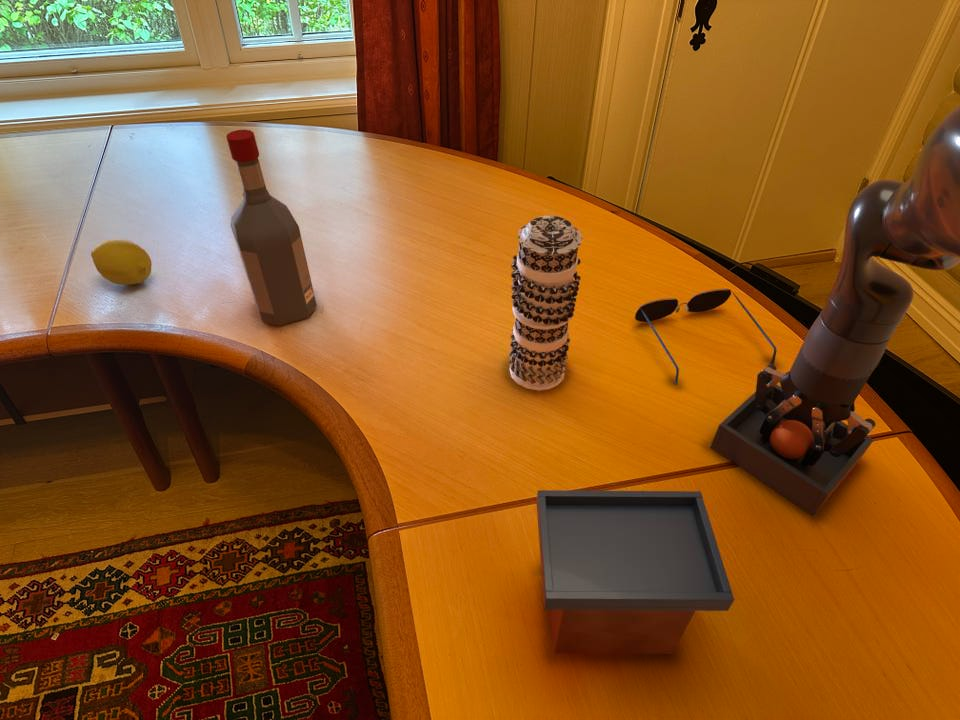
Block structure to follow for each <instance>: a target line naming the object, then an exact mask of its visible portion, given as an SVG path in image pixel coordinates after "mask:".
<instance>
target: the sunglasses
mask: <svg viewBox="0 0 960 720" xmlns="http://www.w3.org/2000/svg"><path fill="white" fill-rule="evenodd" d="M732 294H733V296H734V297H735V299H736V300H737V302H738V303H739V304H740V306H741V307H742V308H743V310H744V311H745V312H746V314H747V315H748V317H749V318H750V319H751V321H752V322H753V323H754V324H755V326H756V327H757V328H758V330H759V331H760V332H761V334H762V335H763V337H765V340H766V341H767V342H768V343H769V344H770V346H771V347H772V348H773V354H772V357H771V360H770V364H773V365H775V360H776V356H777V351H778V350H777V346H776V345H775V343H774V342H773V341H772V340H771V338H770V337H769V336H768V335H767V333H766V332H765V330H763V328H762V326H761V325H760V324H759V322H758V321H757V320H756V318H754V316H753V315H752V313H750V311H749V310H748V308H747V307H746V306H745V305H744V303H743V302H742V301H741V300H740V298H739V297H738V296H737V295H736V294H735V292H733V291H732V289H729V288H717V289H710V290H706V291H702V292H699V293H697V294H695V295H693V296H692V297H691V298H690V299H689V301H688V302H682V303H680V304H679V302H680V301H679V300H678V299H677V298H674V297H669V298H668V297H667V298H660V299H655V300H651V301H649V302H646V303H643V304H642V305H639V307H638V309H637V310H636V312H635V316H634V320H635V321H638V322H641V323H648V325H649V326H650V328H651V329H652V331H653V333H654V334H655V336H656V338H657V340H658V341H659V343H660V345H661V346H662V348H663V349H664V351H665V353H666V354H667V356H668V358H669V359H670V361H671V363H672V364H673V366H674V367H675V377H674V384H675V385H678V381H679V380H678V379H679V376H680V375H679V373H680V367H679V366H678V365H677V363H676V361H675V360H674V358H673V356H672V354H671V353H670V351H669V350H668V348H667V346H666V344H665V342H664V341H663V340H662V338H661V336H660V335H659V333H658V331H657V330H656V329H655V327H654V325H653V324H652V322H653V321H659V320H661V319H664V318H666V317H668V316H670V315H672V314H673V313H674V312H675V313H676V314H677V313H679V312H680V310H681V306H682V305H685V310H686V311H687V312H689V313H702V312H708V311H712V310H714V309H717V308H719V307H720V306H722V305H724V304H725V303H726V302H727V301H728V300H729V298H730V297H731V295H732Z"/></svg>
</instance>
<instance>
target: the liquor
mask: <svg viewBox="0 0 960 720" xmlns="http://www.w3.org/2000/svg"><path fill="white" fill-rule="evenodd" d="M226 142H227V145H228V148H229V152H230V155H231V156H230V157H231V159H232V160H233V161H234V162H235V165H236V169H237V172H238V176H239V179H240V183H241V186H242V196H243V199H242V201H241V203H240V204H239V206H237V208H236V210H235V211H234V213H233V215H232V216H231V217H230V228H231V231H232V234H233V238H234V240H235V243H236V247H237V249H238V253H239V257H240V260H241V263H242V266H243V269H244V272H245V276H246V279H247V282H248V285H249V289H250V291H251V295H252V298H253V301H254V305H255V307H256V309H257V311H258V314H259V317H260V319H261V321H262V322H263V323H265V324H267V325H272V326H276V327H281V326H284V325H288V324H291V323H296V322H298V321H302V320H305V319H308V318H309V317H310V316H311V315H312V313H313V312H314V311H315V309H316V307H317V301H316V297H315V292H314V286H313V283H312V277H311V274H310V269H309V265H308V261H307V257H306V252H305V247H304V243H303V239H302V235H301V231H300V226H299V224H298V223H297V220H296V219H295V218H294V215H293V214H292V212H291V211H290V209H289V207H288V206H287V205H286V204H285V203H283V202H282V201H280V200H278V199H277V198H275V197H274V196H272V195H271V194H270V192H269V190H268V189H267V186H266V183H265V178H264V174H263V171H262V168H261V164H260V159H259V157H260V151H259V148H258V144H257V140H256V136H255V132H254V131H252V130H251V129H237V130H233V131H230V132H229V133H227V134H226Z"/></svg>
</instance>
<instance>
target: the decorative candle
mask: <svg viewBox="0 0 960 720" xmlns="http://www.w3.org/2000/svg"><path fill="white" fill-rule="evenodd" d="M517 238H518V252H517V254H515V255H513V257H512V261H513V262H512V263H511V264H510V267H511V269H512V272H511V273H510V277H511V278H512V285H511V290H512V293H511V296H510V297H511V299H512V308H511V309H512V313H513V315H514V323H513V328H512V333H511V334H510V339H511V341H510V344H509V345H510V347H511V349H510V351H509V357H510V358H509V360H508V363H509V373H510V377H511V379H512V380H514V382H515V383H516V384H517V385H519V386H521V387H523V388H525V389H527V390H533V391H545V390H547V391H548V390H550V389H552V388H553V389H554V388H555V387H557V386H559V385H560V384H561V382H562V381H563V380H564V379H565V375H566V374H565V373H566V367H567V366H568V364H567V362H566V360H568V358H569V356H568V351H569V349H570V346H569V343H570V342H571V338H570V337H569V335H570V334H569V331H570V326H569V322H570V321H571V320H572V318H573V317H574V312H575V307H576V302H577V298H576V297H577V296H578V291H579V290H580V287H579V286H580V281H581V276H580V275H579V274H578V271H577V269H578V266H579V265H580V264H581V259H580V258H579V256H578V252H579V246H581V244H582V241H583V238H584V237H583V235H582V233H581V231H580V230H579V229H578V228H577V227H575V226H574V224H573V223H572V222H571V221H569V220H568V219H567V218H564V217H561V216H557V215H541V216H538V217H535V218H533V219H532V220H530V221H529V222H528V223H526V224H524V225H523V226H522V227H521V228H519V230H518V232H517Z"/></svg>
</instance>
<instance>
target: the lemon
mask: <svg viewBox="0 0 960 720" xmlns="http://www.w3.org/2000/svg"><path fill="white" fill-rule="evenodd" d="M90 256H91V258H92V261H93V264H94V266H95V268H96V271H97V272H98V273H99V274H100V275H101V276H102V277H103V278H104V279H105V280H107V281H109V282H110V283H114V284H117V285H121V286H133V285H136V284H140V283H143V282H145V281H146V280H147V279H148V278H149V276H150V275H151V273H152V265H153V264H152V259H151V256H150V255H149V253H148V252H147V251H146V249H145V248H143V246H141V245H139V244H138V243H136V242H135V241H132V240H128V239H125V238H111V239H107V240H104V241H102V242H101V243H99V244H98V245H96V246H95V247H94V248H93V249H91V252H90Z"/></svg>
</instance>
